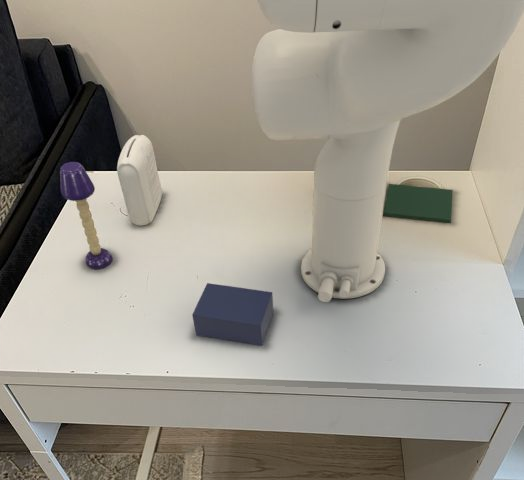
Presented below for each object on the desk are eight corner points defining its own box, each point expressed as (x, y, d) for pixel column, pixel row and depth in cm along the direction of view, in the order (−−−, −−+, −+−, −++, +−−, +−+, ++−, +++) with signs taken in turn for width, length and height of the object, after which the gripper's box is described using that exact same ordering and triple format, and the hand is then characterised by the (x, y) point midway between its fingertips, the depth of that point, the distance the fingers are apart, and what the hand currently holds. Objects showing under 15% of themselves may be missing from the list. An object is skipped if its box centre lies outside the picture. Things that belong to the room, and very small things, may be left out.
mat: (450, 222, 90) (451, 219, 90) (383, 215, 92) (383, 212, 92) (451, 192, 96) (452, 189, 95) (388, 186, 98) (388, 183, 97)
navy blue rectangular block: (262, 345, 74) (260, 325, 71) (196, 335, 76) (192, 314, 73) (273, 312, 78) (272, 291, 75) (210, 303, 80) (207, 282, 77)
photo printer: (142, 192, 100) (126, 127, 91) (165, 193, 100) (151, 127, 90) (128, 226, 93) (109, 160, 84) (152, 227, 93) (136, 160, 84)
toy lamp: (111, 248, 90) (82, 154, 77) (120, 264, 87) (90, 169, 74) (83, 258, 88) (48, 163, 76) (90, 274, 85) (55, 179, 73)
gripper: (371, -44, 63) (357, 111, 76) (381, -81, 73) (368, 60, 87) (306, -45, 64) (304, 108, 77) (326, -81, 75) (321, 58, 88)
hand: (338, 81), depth 82 cm, fingers closed on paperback, 6 cm apart
